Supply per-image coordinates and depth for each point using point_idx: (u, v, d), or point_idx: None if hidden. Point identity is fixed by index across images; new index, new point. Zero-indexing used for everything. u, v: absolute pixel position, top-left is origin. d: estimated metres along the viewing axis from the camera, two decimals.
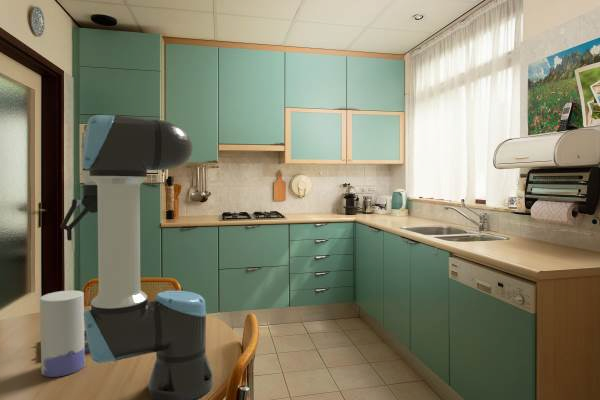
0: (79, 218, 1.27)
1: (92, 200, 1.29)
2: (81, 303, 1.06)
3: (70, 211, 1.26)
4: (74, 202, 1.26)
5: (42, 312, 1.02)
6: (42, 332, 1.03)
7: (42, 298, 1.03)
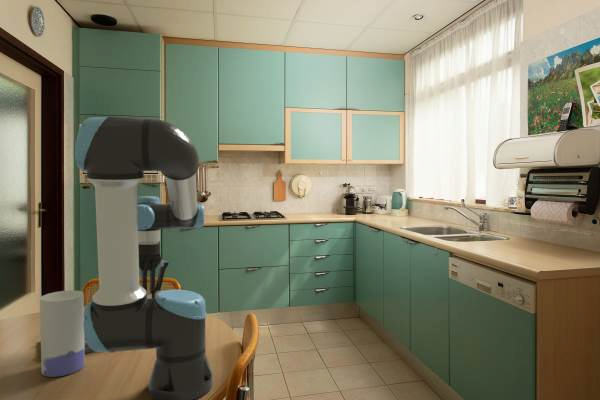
0: (145, 280, 1.32)
1: (142, 256, 1.31)
2: (81, 303, 1.06)
3: None
4: None
5: (42, 312, 1.02)
6: (42, 332, 1.03)
7: (42, 298, 1.03)
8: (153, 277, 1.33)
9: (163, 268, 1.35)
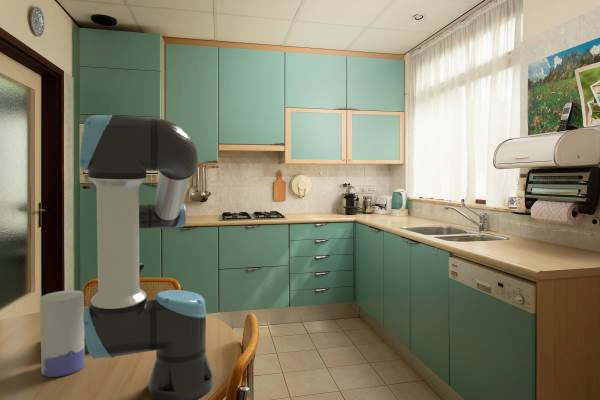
0: None
1: None
2: (81, 303, 1.06)
3: None
4: None
5: (42, 312, 1.02)
6: (42, 332, 1.03)
7: (42, 298, 1.03)
8: None
9: (138, 271, 1.31)
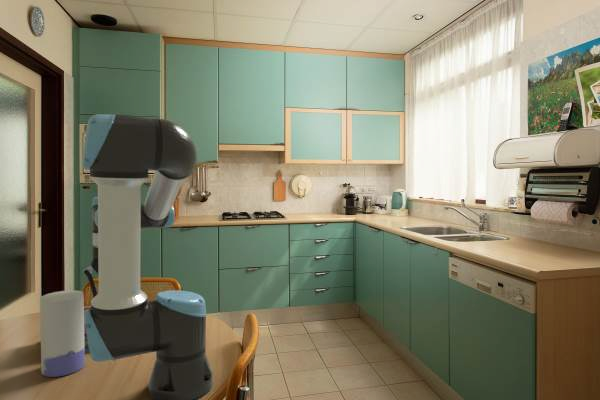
0: None
1: None
2: (81, 303, 1.06)
3: (90, 281, 1.23)
4: (87, 272, 1.22)
5: (42, 312, 1.02)
6: (42, 332, 1.03)
7: (42, 298, 1.03)
8: None
9: None
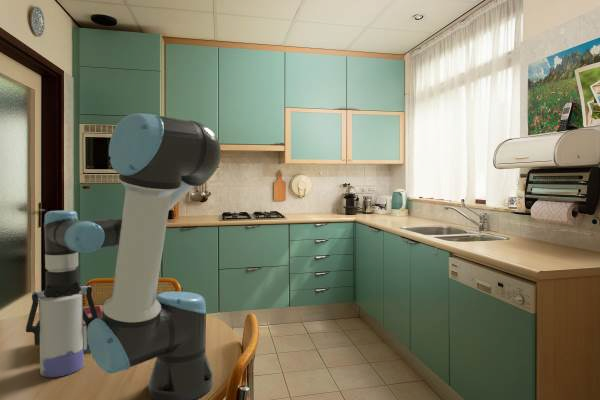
0: None
1: (56, 288, 1.05)
2: (80, 303, 1.06)
3: (32, 309, 1.02)
4: (34, 297, 1.02)
5: (41, 312, 1.02)
6: (41, 332, 1.02)
7: (41, 298, 1.03)
8: None
9: (88, 295, 1.09)
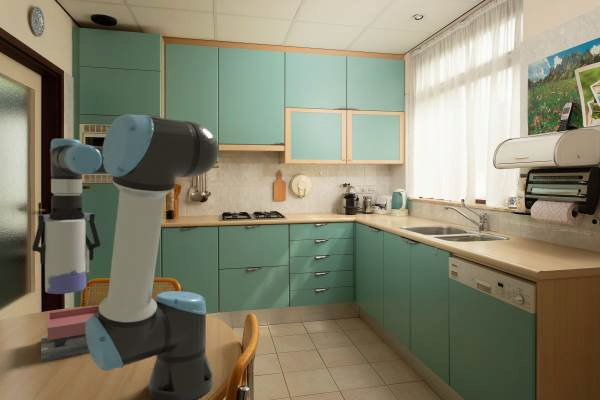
0: None
1: (61, 212, 1.11)
2: (83, 227, 1.13)
3: (39, 229, 1.08)
4: (41, 218, 1.08)
5: (47, 233, 1.08)
6: (46, 252, 1.09)
7: (47, 220, 1.09)
8: None
9: (91, 221, 1.15)
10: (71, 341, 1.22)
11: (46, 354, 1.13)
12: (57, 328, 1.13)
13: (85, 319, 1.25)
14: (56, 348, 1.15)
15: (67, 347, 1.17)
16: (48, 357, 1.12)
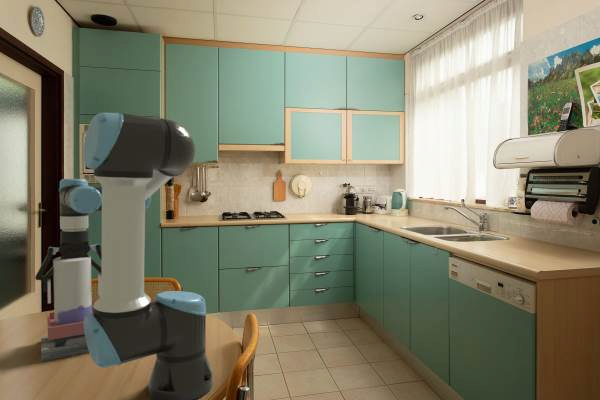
0: None
1: (70, 247, 1.20)
2: (89, 265, 1.21)
3: (46, 261, 1.17)
4: (50, 251, 1.17)
5: (55, 271, 1.17)
6: (55, 289, 1.17)
7: (55, 260, 1.18)
8: (92, 262, 1.23)
9: (98, 252, 1.24)
10: (71, 341, 1.22)
11: (46, 354, 1.13)
12: (58, 328, 1.13)
13: None
14: (56, 348, 1.15)
15: (67, 347, 1.17)
16: (48, 357, 1.12)
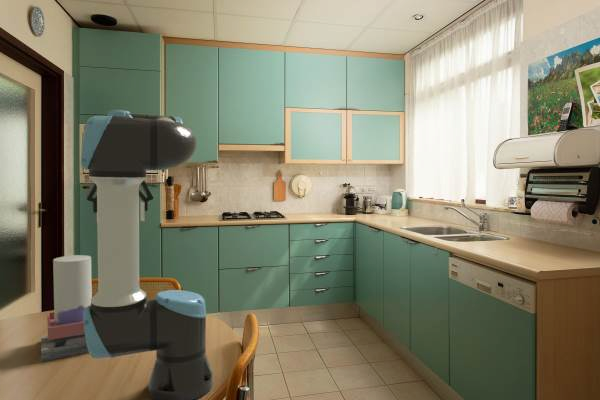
0: None
1: None
2: (89, 265, 1.21)
3: None
4: None
5: (55, 271, 1.17)
6: (55, 289, 1.17)
7: (55, 259, 1.18)
8: None
9: None
10: (71, 341, 1.22)
11: (46, 354, 1.13)
12: (57, 328, 1.13)
13: None
14: (56, 348, 1.15)
15: (67, 347, 1.17)
16: (48, 357, 1.12)
